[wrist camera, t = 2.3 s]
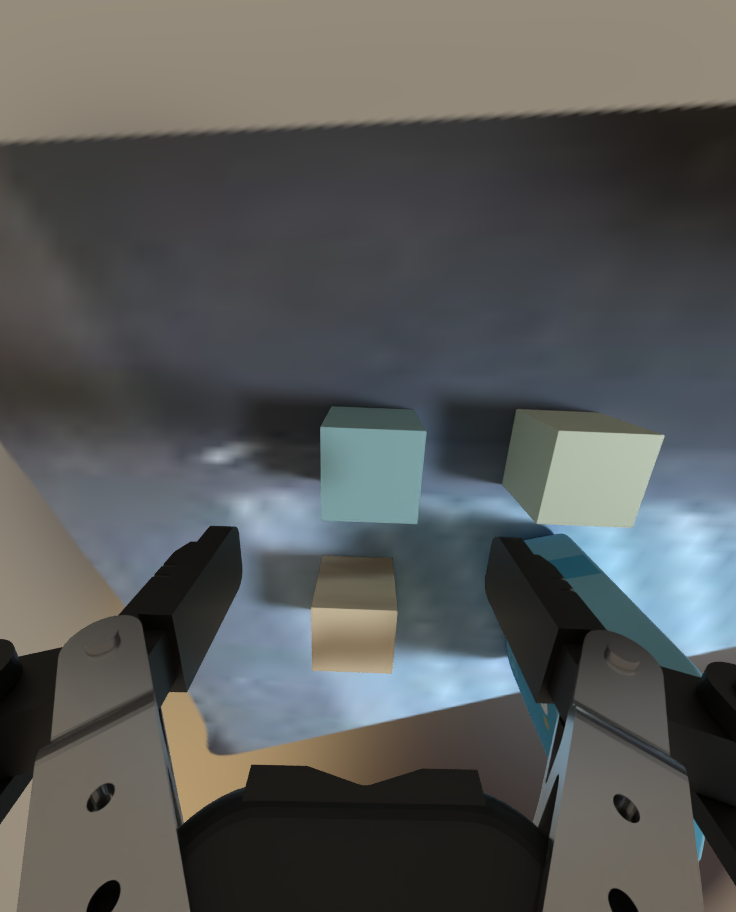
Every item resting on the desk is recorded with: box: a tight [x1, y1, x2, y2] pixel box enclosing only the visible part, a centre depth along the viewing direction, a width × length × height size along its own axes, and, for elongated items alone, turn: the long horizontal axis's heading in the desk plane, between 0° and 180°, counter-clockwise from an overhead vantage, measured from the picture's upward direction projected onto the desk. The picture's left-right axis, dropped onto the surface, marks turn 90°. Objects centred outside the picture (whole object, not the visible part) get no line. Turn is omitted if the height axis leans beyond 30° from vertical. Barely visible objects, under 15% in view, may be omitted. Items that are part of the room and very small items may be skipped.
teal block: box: [320, 406, 427, 524], centre depth 19 cm, size 5×5×5 cm
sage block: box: [502, 409, 665, 528], centre depth 19 cm, size 5×5×5 cm
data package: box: [505, 534, 705, 861], centre depth 20 cm, size 12×4×12 cm, turn 13°
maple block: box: [311, 555, 398, 674], centre depth 23 cm, size 5×5×5 cm
